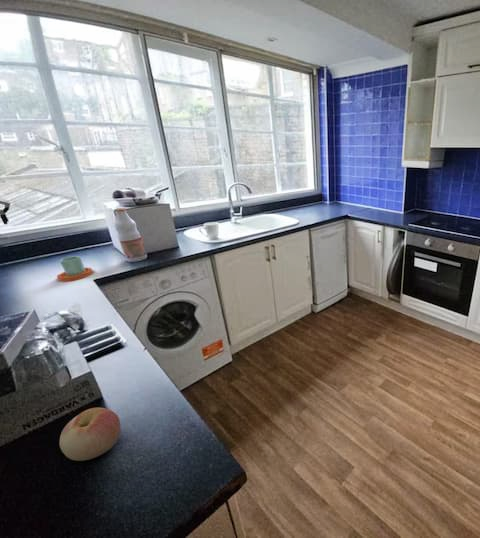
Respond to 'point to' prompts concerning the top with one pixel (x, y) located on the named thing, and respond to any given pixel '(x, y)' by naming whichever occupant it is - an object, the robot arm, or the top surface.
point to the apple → (90, 434)
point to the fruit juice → (129, 236)
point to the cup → (73, 266)
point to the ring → (62, 276)
